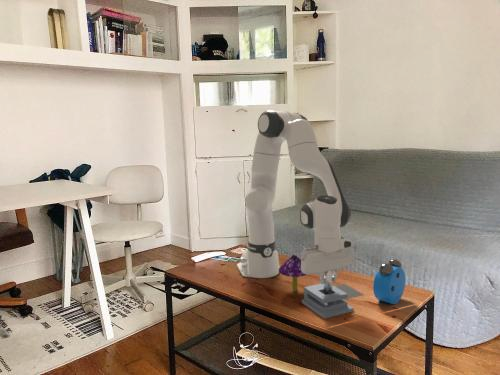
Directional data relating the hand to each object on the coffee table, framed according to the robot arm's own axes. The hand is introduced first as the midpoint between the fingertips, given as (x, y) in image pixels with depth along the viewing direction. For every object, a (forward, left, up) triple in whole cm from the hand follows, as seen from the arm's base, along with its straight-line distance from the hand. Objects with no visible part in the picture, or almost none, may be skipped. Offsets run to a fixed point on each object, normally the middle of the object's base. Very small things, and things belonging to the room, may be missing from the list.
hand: (328, 282), depth 140 cm
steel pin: (0, 0, -5) cm, 5 cm away
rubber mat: (-8, +11, -9) cm, 17 cm away
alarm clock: (+6, +22, -10) cm, 25 cm away
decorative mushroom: (-17, -4, -10) cm, 20 cm away
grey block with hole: (0, -1, -9) cm, 9 cm away
